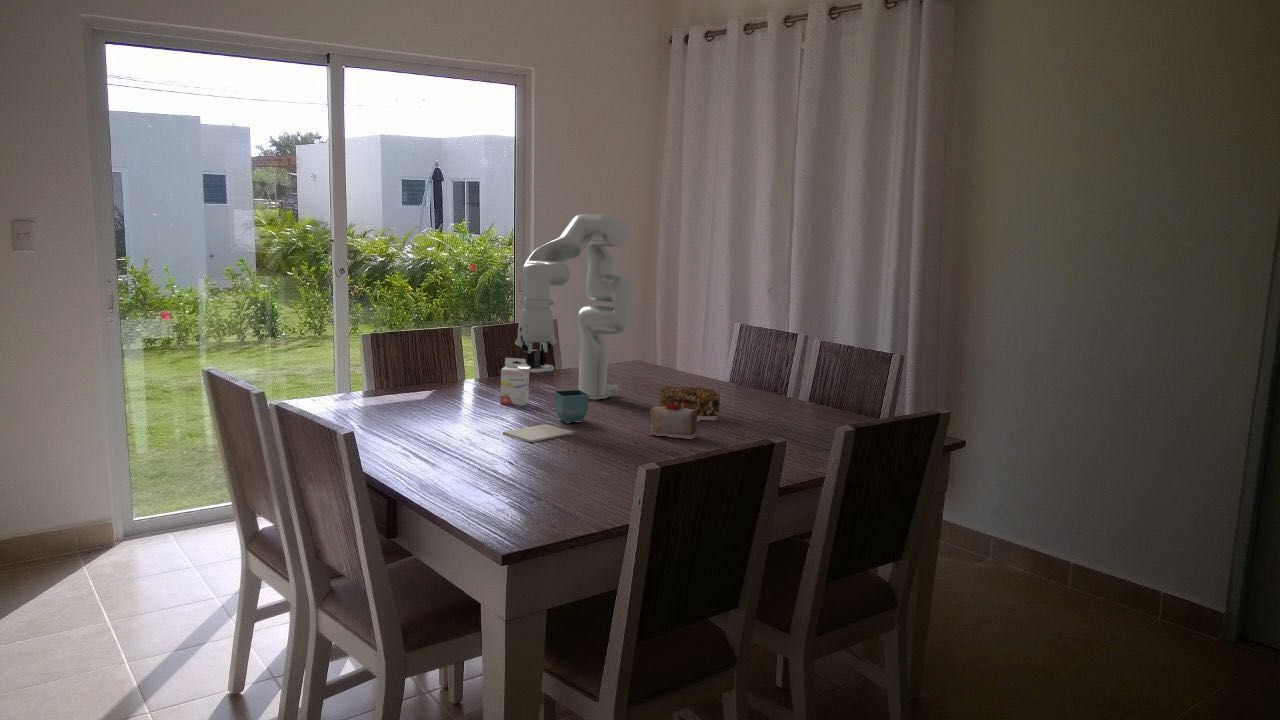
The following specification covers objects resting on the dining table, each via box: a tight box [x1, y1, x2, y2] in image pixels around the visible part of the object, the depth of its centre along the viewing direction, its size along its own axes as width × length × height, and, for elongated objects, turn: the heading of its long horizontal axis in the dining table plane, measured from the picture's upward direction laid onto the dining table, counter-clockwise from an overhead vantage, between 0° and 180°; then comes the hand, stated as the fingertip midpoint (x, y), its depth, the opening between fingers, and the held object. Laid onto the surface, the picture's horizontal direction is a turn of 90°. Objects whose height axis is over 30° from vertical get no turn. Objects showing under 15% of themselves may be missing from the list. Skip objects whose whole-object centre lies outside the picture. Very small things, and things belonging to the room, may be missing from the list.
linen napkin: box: [502, 423, 574, 443], centre depth 264 cm, size 16×12×1 cm
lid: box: [517, 348, 555, 374], centre depth 280 cm, size 11×11×6 cm
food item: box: [649, 402, 698, 435], centre depth 268 cm, size 14×8×10 cm, turn 73°
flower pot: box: [552, 389, 590, 423], centre depth 281 cm, size 9×9×9 cm
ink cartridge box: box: [499, 357, 530, 406], centre depth 303 cm, size 9×5×15 cm, turn 84°
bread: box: [659, 385, 721, 417], centre depth 293 cm, size 19×11×10 cm, turn 87°
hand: (535, 364), depth 280 cm, fingers closed on lid, 3 cm apart
